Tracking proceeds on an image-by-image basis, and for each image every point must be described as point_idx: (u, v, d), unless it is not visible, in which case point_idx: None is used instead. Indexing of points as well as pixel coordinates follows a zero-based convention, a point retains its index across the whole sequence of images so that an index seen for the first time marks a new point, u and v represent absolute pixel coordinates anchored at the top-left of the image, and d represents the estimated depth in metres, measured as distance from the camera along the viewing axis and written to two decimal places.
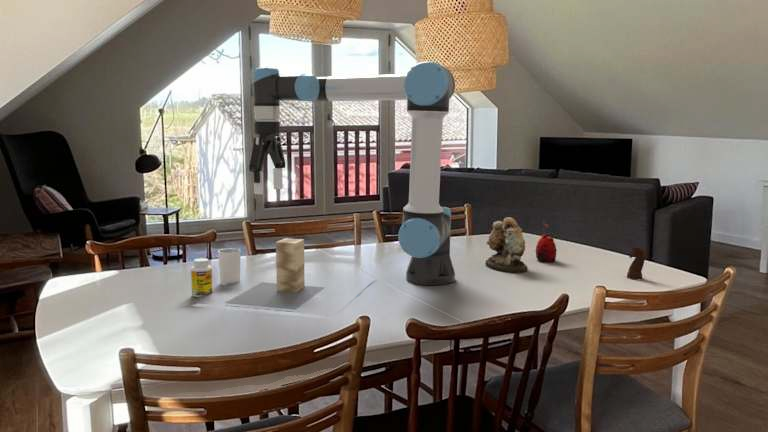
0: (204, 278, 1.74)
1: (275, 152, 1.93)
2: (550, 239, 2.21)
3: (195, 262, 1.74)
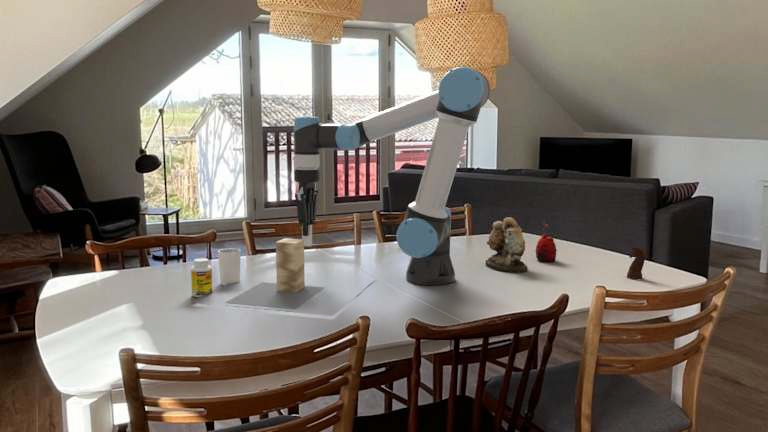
0: (204, 278, 1.74)
1: (311, 201, 1.91)
2: (550, 239, 2.21)
3: (195, 262, 1.74)
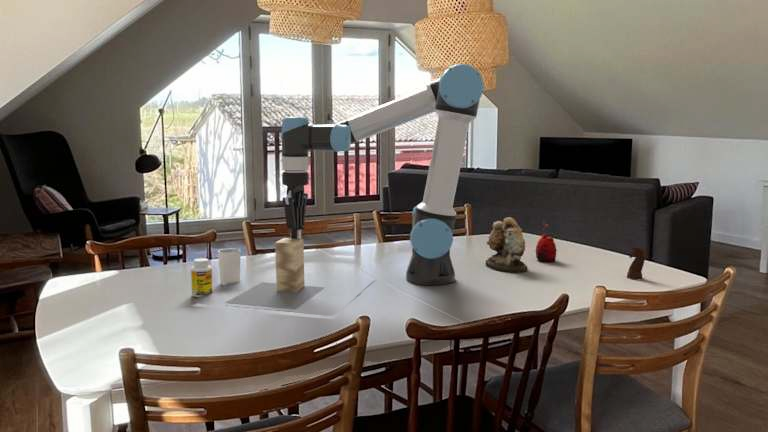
0: (204, 278, 1.74)
1: (299, 205, 1.83)
2: (550, 239, 2.21)
3: (195, 262, 1.74)
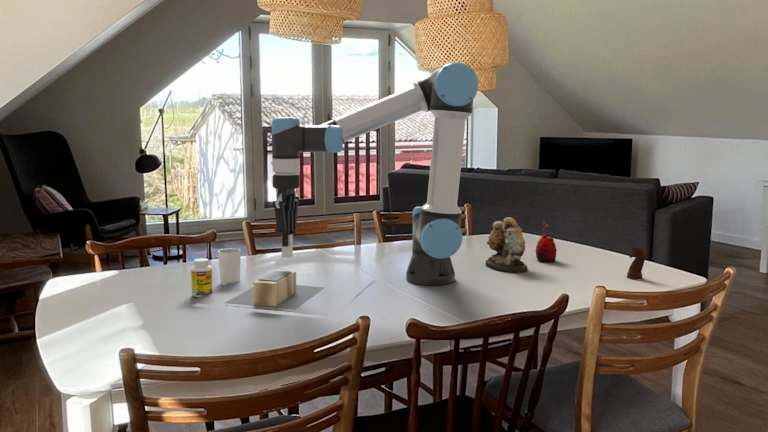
0: (204, 278, 1.74)
1: (291, 209, 1.77)
2: (550, 239, 2.21)
3: (195, 262, 1.74)
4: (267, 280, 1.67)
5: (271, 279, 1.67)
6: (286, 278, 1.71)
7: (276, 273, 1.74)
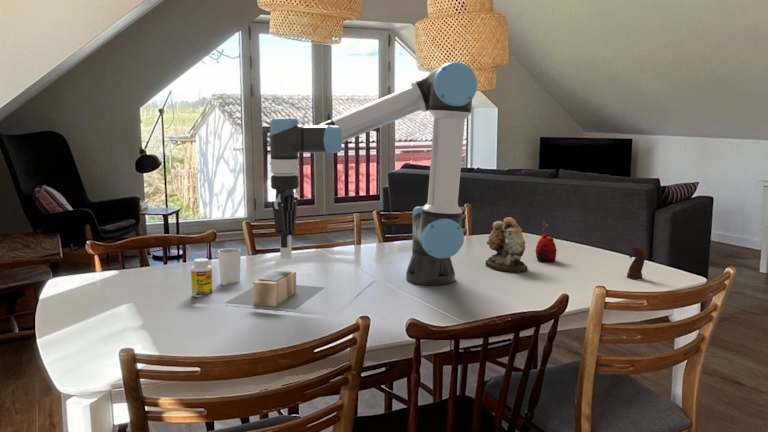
0: (204, 278, 1.74)
1: (289, 210, 1.76)
2: (550, 239, 2.21)
3: (195, 262, 1.74)
4: (267, 280, 1.67)
5: (271, 279, 1.67)
6: (286, 278, 1.71)
7: (276, 273, 1.74)
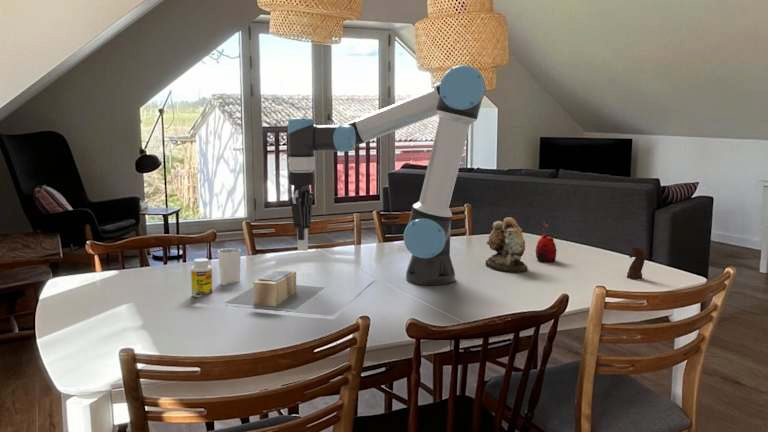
0: (204, 278, 1.74)
1: (306, 204, 1.87)
2: (550, 239, 2.21)
3: (195, 262, 1.74)
4: (267, 280, 1.67)
5: (271, 279, 1.67)
6: (286, 278, 1.71)
7: (276, 273, 1.74)
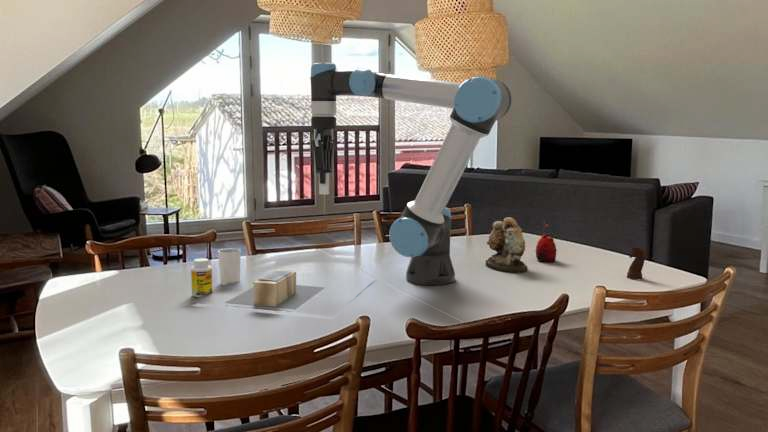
0: (204, 278, 1.74)
1: (327, 149, 1.92)
2: (550, 239, 2.21)
3: (195, 262, 1.74)
4: (267, 280, 1.67)
5: (271, 279, 1.67)
6: (286, 278, 1.71)
7: (276, 273, 1.74)
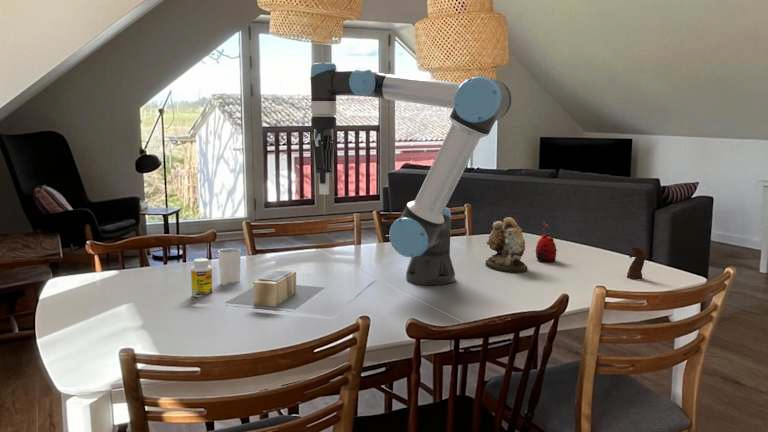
0: (204, 278, 1.74)
1: (327, 149, 1.92)
2: (550, 239, 2.21)
3: (195, 262, 1.74)
4: (267, 280, 1.67)
5: (271, 279, 1.67)
6: (286, 278, 1.71)
7: (276, 273, 1.74)
